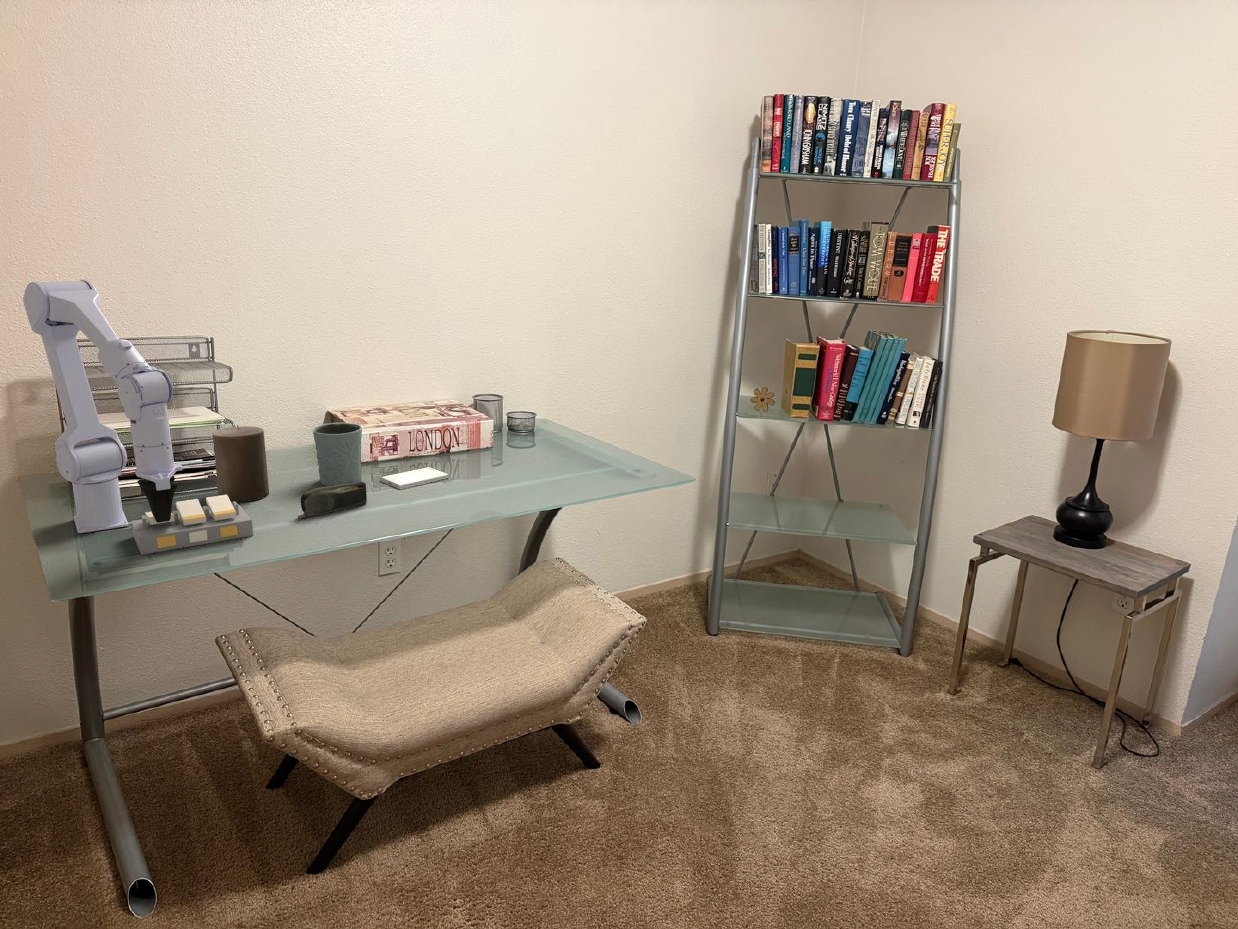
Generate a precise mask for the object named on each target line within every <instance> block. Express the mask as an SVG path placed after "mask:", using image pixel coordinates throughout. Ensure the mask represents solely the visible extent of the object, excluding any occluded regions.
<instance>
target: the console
mask: <svg viewBox="0 0 1238 929" xmlns="http://www.w3.org/2000/svg"><path fill="white" fill-rule="evenodd" d="M232 505H233V507H234V509H235V511H236V517H235V518H229V519H222V520H216V521H215V520H214V518H213V516H212V513H211V511H210V509H209V507H208V505H203V506H202V509H203V512H204V514H205V516H206V522H204V523H197V524H191V525H185V526H184V524H183V522H182V520H181V517H180V515H179V512H178V510H177V509H176V510H172V514H173V515H174V520H175V521H171V522H165V523H158V524H152V525H151V524H150V522H149V521H148V520H147V519H146V514H142V515H141V519H135V520H134V519H133V520H131V527H132V528H131V529H132V536H133V539H134V541H135V544H136V546H137V549H138V551H139V553H140V555H147V554H154V552H155V553H160V552H165V551H171V550H177V548H178V549H183V547H184V548H190V547H194V546H201V545H205V544H207V545H208V544H210V543H218V542H223V541H228V540H235V539H241V538H242V539H243V538H247V537H252V536H254V531H253V529H254V528H253V520H252V518H251V517H250V516H249V514H247V512H246V511H245V510H244V509H243V508H242V506H241V505H240V504H238V502H236V501H235V502H232Z"/></svg>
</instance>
